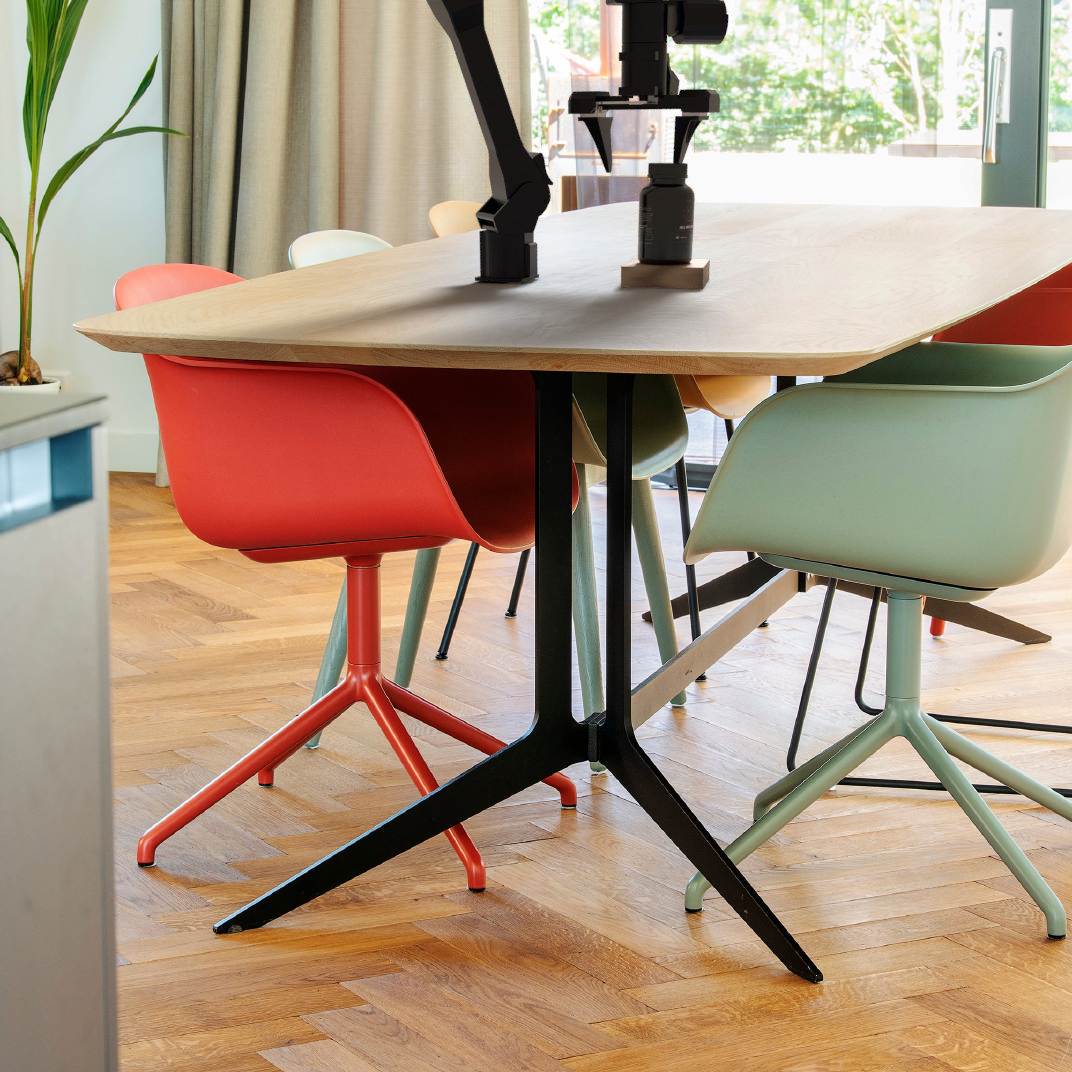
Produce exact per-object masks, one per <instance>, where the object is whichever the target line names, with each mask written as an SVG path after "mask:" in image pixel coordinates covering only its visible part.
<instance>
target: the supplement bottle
mask: <svg viewBox="0 0 1072 1072" xmlns="http://www.w3.org/2000/svg"><path fill="white" fill-rule="evenodd" d="M647 167H648V168H647V169H648V171H647V172H648V173H647V174H646V175H647V179H649V180H648V181H649V183H648V184H646V185H644V187H642V188H641V189H640V191H639V197H638V199H639V201H638V227H637V228H638V229H637V230H638V231H637V258H638V260H639V262H641V263H646V264H663V265H675V264H687V263H690V262H691V260H692V259H693V251H694V250H693V245H694V224H695V223H694V221H695V219H694V218H695V197H696V196H695V192H694V190H693V188H692V187H691V186H689V185H688V184H686V179H689V178H688V177H689V174H688V169H689V166H688V163H686V162H683V163H673V162H648V166H647Z"/></svg>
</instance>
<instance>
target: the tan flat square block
mask: <svg viewBox="0 0 1072 1072" xmlns="http://www.w3.org/2000/svg"><path fill="white" fill-rule="evenodd" d="M710 262H711V259H706V258H705V259H704V258H702V259H701V258H697V259H696V258H695V259H693V258H692V260H691V262H690V263H687V264H675V265H663V264H646V263H641V262H639V260H638V257H636V258H635V257H633V258H630V259H629V260H628V261H626V262H625V263H624V264H622V265H620V288H641V289H642V288H644V289H646V288H648V289H649V288H653V289H655V288H657V289H695V290H696V289H697V290H698V289H699V290H700V289H704V288H705V286H706V285H707V283H708V282H709V280H710V269H711V268H710V265H711V263H710Z"/></svg>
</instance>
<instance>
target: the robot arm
mask: <svg viewBox="0 0 1072 1072" xmlns="http://www.w3.org/2000/svg"><path fill="white" fill-rule="evenodd" d="M426 3H427V5H428V6H429V8H430V10H431V12H432V14H433V16H434V17H435V20H436V21H437V22H438V23H439V25H440V26H441V28H442V29H443V30H444V32H445V33H446V35H447V36H448V38H449V40H450V42H451V45H452V47H453V50H454V54H455V57H456V60H457V63H458V66H459V67H460V68H459V69H460V72H461V74H462V77H463V81H464V83H465V86H466V88H467V92H468V94H469V98H470V101H471V104H472V107H473V110H474V112H475V116H476V118H477V121H478V122H477V123H478V125H479V127H480V130H481V134H482V137H483V140H484V142H485V145H486V148H487V151H488V152H487V153H488V177H489V183H490V189H491V195H490V197H489V198H488V199H487V201H485V202H484V203H483V204H482V205H481V207H480V208H479V209H477V211H476V212H475V217H476V220H477V223H478V225H479V229H480V230H479V232H478V234H479V237H478V238H479V276H474V281H475V282H491V283H492V282H494V283H495V282H496V283H500V282H501V283H519V284H520V283H524V282H527V281H531V280H535V279H539V278H540V273H539V272H538V271H539V269H538V268H539V267H538V243H537V242H536V241H535V240H534V239H535V237H534V236H535V234H534V233H535V229H536V227H537V225H538V220H539V218H540V217H541V216H542V215H543V214H544V213H545V212H546V211H547V208H548V206H549V203H550V202H551V195H552V194H551V188H550V186H553V185H554V182H553V181H552V179H551V178H550V177H549V173H548V172H547V167H546V161H545V157H544V154H543V152H534V151H533V152H532V151H529V150H528V149H527V147H526V145H524V142H523V140H522V138H521V134H520V133H519V128H518V126H517V123H516V119H515V116H514V115H513V111H512V107H511V104H510V100H509V99H508V95H507V93H506V90H505V85H504V83H503V81H502V77H501V74H500V71H499V67H498V66H497V65H498V64H497V62H496V59H495V56H494V53H493V50H492V46H491V44H490V40H489V38H488V34H487V31H486V27H485V0H426ZM605 4H606V6H621V51H620V52H618V62H621V68H620V69H621V77H620V81H621V82H620V83H621V84H620V85H621V86H618V90H617V91H618V94H617V95H611V94H610V92H609V91H605V90H603V91H602V90H587V91H586V90H585V91H584V90H582V91H579V90H578V91H575V90H574V91H572V93H571V94H570V95H569V98H568V101H567V107H568V108H567V115H579V116H578V117H577V122H583V123H584V125H585V126H586V128H587V131H588V132H589V135H590V136H591V137H592V140H593V143H594V144H595V147H596V150H597V152H598V155H599V157H600V160H601V162H602V165H603V167H604V170H605V173H607V174H611V173H612V170H613V150H612V148H613V147H612V134H611V133H612V131H611V130H612V124H613V120H614V116H607V114H608V112H609V111H617V110H618V111H631V110H633V111H634V110H636V111H639V110H641V111H642V110H644V111H645V110H680V112H681V115H675V116H674V132H673V133H674V136H673V153H672V154H673V157H672V158H673V159H672V163H684V161H685V160H684V159H685V157H686V154H687V151H688V148H689V146H690V142H691V140H692V138H693V136H694V134H695V131H696V130H697V129H698V127H699V125H700V124H701V123H702V121H709V120H710V115H708V113H709V114H710V113H714V114H715V113H716V114H717V113H719V114H720V113H721V112H720V111H721V108H720V107H721V97H720V94H719V92H718V91H717V90H716V89H711V88H709V89H708V88H701V89H699V88H697V89H696V88H692V89H688V88H687V89H680V79H679V77H678V76H677V74H676V73H675V72H674V71H673V70H672V67H671V64H670V63H671V62H670V61H671V60H670V52H668V38H671V39H672V40H673V42H674V43H675V45H676V44H677V45H696V46H697V45H699V46H700V45H702V46H703V45H705V46H706V45H709V46H710V45H711V46H713V45H714V46H715V45H716V46H717V45H720V44H722V42H723V41H724V40H725V37H726V35H727V31H728V28H729V13H728V12H727V5H726V3H725V1H724V0H605ZM634 97H638V100H635V101H634V100H630V99H634Z"/></svg>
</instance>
